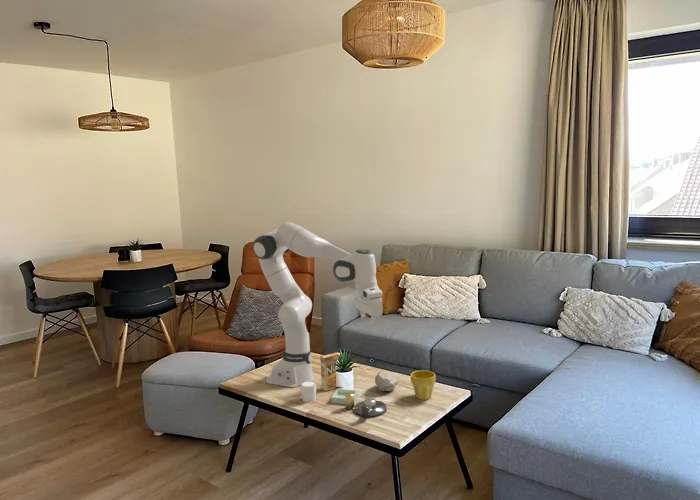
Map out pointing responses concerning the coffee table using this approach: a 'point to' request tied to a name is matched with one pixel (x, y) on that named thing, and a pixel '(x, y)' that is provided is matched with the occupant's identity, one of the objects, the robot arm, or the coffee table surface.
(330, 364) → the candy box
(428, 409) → the coffee table surface
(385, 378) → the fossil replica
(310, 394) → the white cylinder
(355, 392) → the tray
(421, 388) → the plant pot
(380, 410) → the base
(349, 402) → the pin
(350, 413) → the coffee table surface
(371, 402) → the crank
